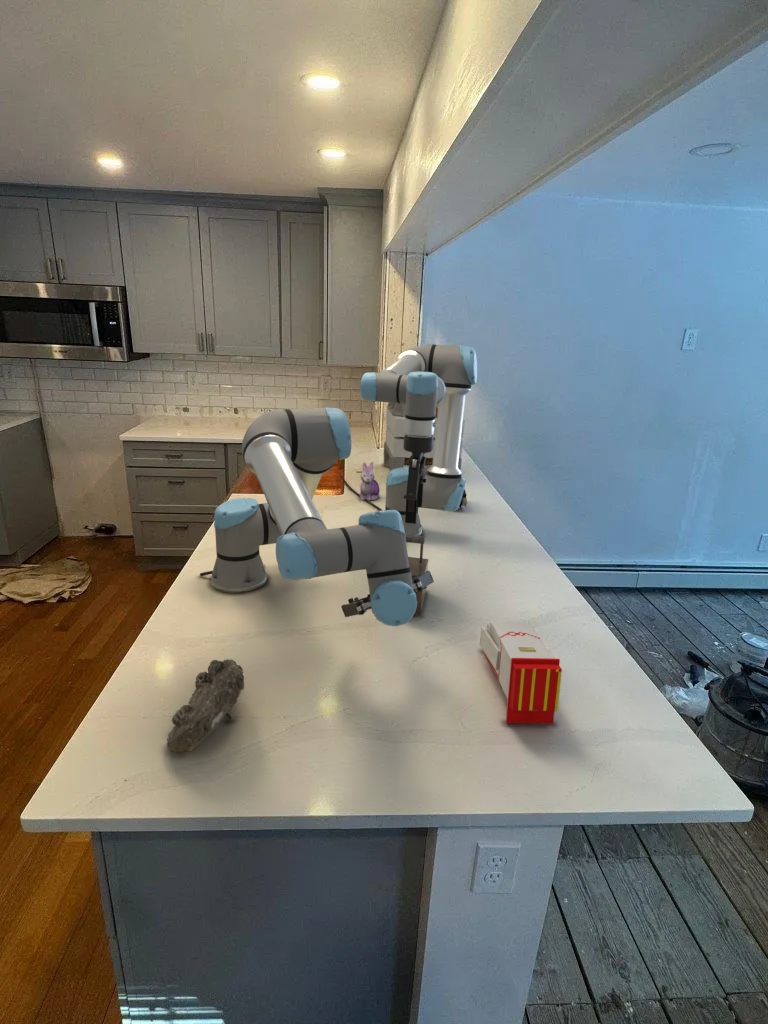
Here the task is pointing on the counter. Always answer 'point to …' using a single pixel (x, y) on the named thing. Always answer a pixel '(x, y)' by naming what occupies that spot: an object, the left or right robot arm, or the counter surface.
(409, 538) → the lid
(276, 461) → the left robot arm
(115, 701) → the counter surface
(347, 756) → the counter surface
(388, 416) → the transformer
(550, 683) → the toy
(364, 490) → the figurine
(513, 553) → the counter surface
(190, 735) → the fossil
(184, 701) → the counter surface
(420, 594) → the chest
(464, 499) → the figurine character
